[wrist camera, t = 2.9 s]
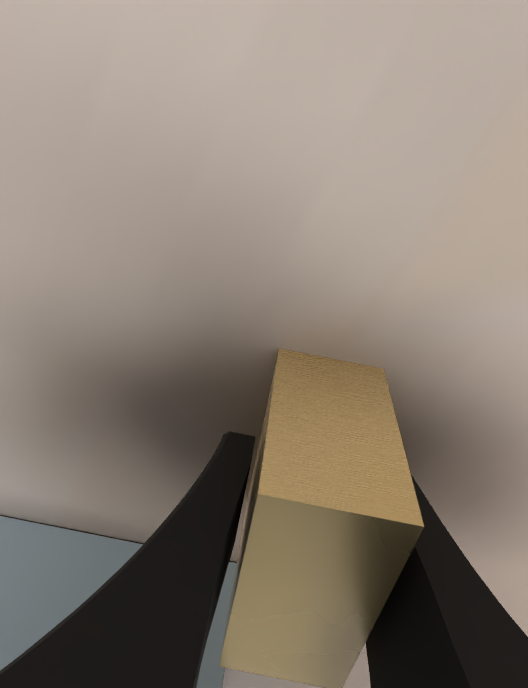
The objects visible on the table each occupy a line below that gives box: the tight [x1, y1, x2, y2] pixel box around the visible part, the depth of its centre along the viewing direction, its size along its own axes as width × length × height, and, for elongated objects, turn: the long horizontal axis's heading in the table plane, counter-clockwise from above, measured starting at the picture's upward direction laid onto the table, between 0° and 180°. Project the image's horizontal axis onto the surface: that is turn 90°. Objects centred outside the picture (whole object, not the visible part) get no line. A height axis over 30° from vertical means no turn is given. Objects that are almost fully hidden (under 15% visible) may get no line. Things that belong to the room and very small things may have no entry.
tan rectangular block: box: [219, 349, 424, 688], centre depth 10 cm, size 2×5×4 cm, turn 171°
